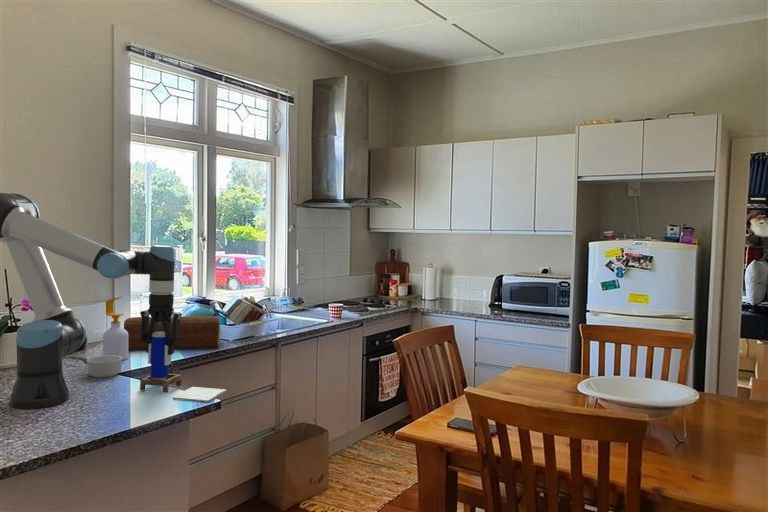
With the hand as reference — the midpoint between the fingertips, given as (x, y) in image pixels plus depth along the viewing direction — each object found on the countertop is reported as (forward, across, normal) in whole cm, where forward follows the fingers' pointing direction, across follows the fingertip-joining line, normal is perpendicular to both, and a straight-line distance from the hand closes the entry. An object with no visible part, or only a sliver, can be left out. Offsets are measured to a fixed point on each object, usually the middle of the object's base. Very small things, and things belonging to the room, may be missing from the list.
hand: (159, 363), depth 187 cm
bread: (+9, +30, -60) cm, 67 cm away
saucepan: (+9, +32, -10) cm, 35 cm away
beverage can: (+5, 0, 0) cm, 5 cm away
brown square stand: (+8, -1, 0) cm, 8 cm away
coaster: (+8, -17, +4) cm, 19 cm away
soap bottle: (+9, +38, -31) cm, 50 cm away
